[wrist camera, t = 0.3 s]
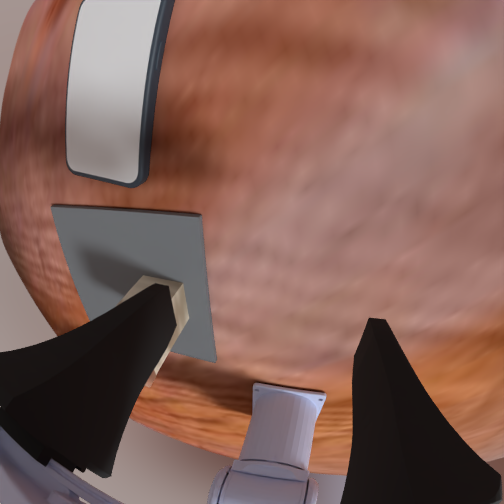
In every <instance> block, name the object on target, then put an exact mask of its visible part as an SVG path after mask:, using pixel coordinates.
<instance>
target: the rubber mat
mask: <svg viewBox="0 0 504 504" xmlns="http://www.w3.org/2000/svg"><path fill="white" fill-rule="evenodd" d="M51 211H52V215H53V218H54V222H55V226H56V229H57V233H58V236H59V240H60V243H61V246H62V249H63V252H64V255H65V258H66V261H67V264H68V267H69V270H70V273H71V276H72V278H73V281H74V284H75V286H76V289H77V291H78V294H79V296H80V299H81V301H82V304H83V306H84V308H85V311H86V313H87V315H88V317H89V320H90V321H92V320H93V319H95V318H97V317H99V316H100V315H102V314H104V313H106V312H108V311H109V310H111V309H113V308H114V307H115V306H116V305H117V304H118V303H119V302H120V301H121V300H122V298H123V297H124V296H125V295H126V294H127V293H128V292H129V290H130V289H131V288H132V287H133V286H134V285H135V284H136V283H137V281H138V280H139V279H140V278H141V277H142V276H143V275H145V276H150V277H155V278H160V279H165V280H170V281H175V282H181V283H183V285H184V291H185V297H186V303H187V309H188V314H189V319H188V321H187V323H186V325H185V326H184V328H183V330H182V331H181V333H180V335H179V336H178V338H177V340H176V342H175V343H174V345H173V347H172V348H171V350H170V351H171V352H175V353H178V354H182V355H186V356H189V357H193V358H197V359H201V360H205V361H209V362H213V363H216V360H217V356H216V349H215V341H214V334H213V325H212V317H211V309H210V300H209V290H208V281H207V271H206V261H205V250H204V238H203V226H202V215H199V214H188V213H176V212H163V211H150V210H136V209H121V208H105V207H87V206H67V205H53V206H51Z"/></svg>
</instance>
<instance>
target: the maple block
mask: <svg viewBox="0 0 504 504" xmlns="http://www.w3.org/2000/svg"><path fill="white" fill-rule="evenodd" d="M154 283H157V284H162V285H167V286H169V289H170V294H171V299H172V304H173V309H174V314H175V319H176V323H177V326H176V329H175V331H174V334H173V336H172V338H171V341H170V343H169V345H168V347H167V349H166V351H165V352H164V354H163V356H162V357H161V359H160V361H159V362H158V364H157V366H156V367H155V369H154V371H153V372H152V374H151V375H150V377H149V379H148V380H147V382H146V384H145V385H144V386H147V387H151V385H152V383H153V381H154V380H155V378H156V374H157V373H158V371H159V369H160V367H161V366H162V364H163V362H164V360H165V359H166V357H167V355H168V354H169V352H170V350H171V348H172V347H173V345H174V343H175V342H176V340H177V338H178V336H179V335H180V333H181V331H182V330H183V328H184V326H185V325H186V323H187V321H188V319H189V314H188V309H187V303H186V297H185V291H184V285H183V283H181V282H175V281H170V280H165V279H160V278H155V277H150V276H145V275H143V276H142V277H141V278H140V279H139V280H138V281H137V283H136V284H135V285H134V286H133V287H132V288H131V289H130V290H129V292H128V293H127V294H126V295H125V296H124V297H123V298H122V300H121V301H120V302H119V303H118V304H117V305H119V304H121V303H122V302H124V301H126V300H127V299H129V298H131V297H132V296H134V295H135V294H137V293H139V292H140V291H142V290H144V289H145V288H147V287H149V286H151V285H152V284H154ZM117 305H116V306H117ZM116 306H115V307H116Z"/></svg>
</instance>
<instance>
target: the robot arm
mask: <svg viewBox="0 0 504 504" xmlns="http://www.w3.org/2000/svg"><path fill="white" fill-rule="evenodd" d="M176 326H177V323H176V319H175V314H174V309H173V304H172V299H171V294H170V289H169V286H167V285H162V284H157V283H154V284H152V285H151V286H149V287H147V288H145V289H144V290H142V291H140V292H139V293H137V294H135V295H134V296H132V297H131V298H129V299H127V300H126V301H124V302H122V303H121V304H119V305H117V306H116V307H114V308H113V309H111V310H109V311H108V312H106V313H104V314H102V315H100V316H99V317H97V318H95V319H93V320H92V321H90V322H88V323H86V324H84V325H82V326H80V327H78V328H76V329H74V330H72V331H70V332H67V333H65V334H63V335H61V336H58V337H55V338H53V339H50V340H47V341H45V342H42V343H39V344H36V345H33V346H29V347H25V348H21V349H17V350H13V351H6V352H0V406H1V407H0V503H1V504H86V503H84V502H81V501H80V500H79V496H80V497H81V498H83V499H84V500H86V501H87V502H89V503H90V504H124V503H122V502H120V501H118V500H116V499H114V498H112V497H111V496H109V495H107V494H105V493H103V492H102V491H100V490H98V489H97V488H95V487H93V486H92V485H90V484H88V483H87V482H85V481H84V480H82V479H81V478H79V477H78V476H76V475H75V474H73V471H74V469H75V468H76V469H78V470H79V471H81V472H84V471H85V470H86V468H87V469H89V470H90V471H92V472H93V473H95V474H97V475H98V476H100V477H102V478H108V477H110V476H111V473H112V469H113V465H114V461H115V457H116V453H117V450H118V447H119V443H120V441H121V438H122V434H123V432H124V429H125V427H126V424H127V421H128V419H129V416H130V414H131V412H132V409H133V407H134V405H135V402H136V400H137V398H138V396H139V394H140V392H141V390H142V389H143V387H144V385H145V384H146V382H147V380H148V379H149V377H150V375H151V374H152V372H153V371H154V369H155V367H156V366H157V364H158V362H159V361H160V359H161V357H162V356H163V354H164V352H165V351H166V349H167V347H168V345H169V343H170V341H171V338H172V336H173V334H174V331H175V329H176ZM325 399H326V394H325V393H321V392H313V391H305V390H298V389H291V388H285V387H278V386H272V385H267V384H261V383H254V385H253V412H252V417H251V421H250V424H249V427H248V431H247V434H246V437H245V440H244V444H243V447H242V450H241V453H240V456H239V460H234V462H233V465H232V466H230V465H227V466H225V467H224V468H222V469H220V470H219V471H218V473H217V474H216V476H215V478H214V480H213V482H212V485H211V488H210V491H209V495H208V501H207V504H316V502H317V496H318V483H317V482H316V481H315V479H314V478H308V475H309V471H307V469H308V464H309V458H310V452H311V446H312V440H313V434H314V427H315V422H316V419H317V417H318V415H319V413H320V411H321V408H322V406H323V404H324V401H325ZM352 403H353V436H352V448H351V455H350V461H349V467H348V472H347V478H346V482H345V487H344V491H343V495H342V499H341V503H340V504H499V503H500V502H501V501H502V482H501V475H500V474H499V473H498V472H496V471H495V470H494V469H493V468H492V467H490V466H489V465H488V464H487V463H486V462H485V461H484V460H482V459H481V458H480V457H479V456H478V455H477V454H476V453H475V452H474V451H473V450H472V449H471V448H470V447H469V446H468V445H467V443H466V442H465V441H464V440H463V439H462V438H461V437H460V436H459V434H458V433H457V432H456V431H455V430H454V428H453V427H452V426H451V425H450V424H449V422H448V421H447V420H446V419H445V417H444V416H443V415H442V413H441V412H440V410H439V409H438V408H437V406H436V405H435V404H434V402H433V401H432V399H431V398H430V396H429V395H428V393H427V392H426V390H425V388H424V387H423V385H422V384H421V382H420V380H419V379H418V377H417V375H416V374H415V372H414V370H413V368H412V367H411V365H410V363H409V361H408V359H407V358H406V356H405V354H404V352H403V350H402V349H401V347H400V345H399V343H398V341H397V339H396V337H395V336H394V334H393V332H392V330H391V328H390V326H389V325H388V323H387V321H386V320H385V319H377V318H369V319H368V322H367V324H366V327H365V330H364V333H363V335H362V338H361V340H360V343H359V345H358V348H357V350H356V353H355V355H354V364H353V376H352Z"/></svg>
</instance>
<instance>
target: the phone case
mask: <svg viewBox="0 0 504 504" xmlns="http://www.w3.org/2000/svg"><path fill="white" fill-rule="evenodd" d="M174 2H175V0H83V1H82V3H81V5H80V7H79V11H78V16H77V20H76V25H75V30H74V36H73V41H72V48H71V55H70V62H69V71H68V81H67V94H66V117H65V145H66V163H67V166H68V168H69V170H70V171H71V172H72V173H73V174H75V175H79V176H83V177H87V178H91V179H95V180H100V181H104V182H108V183H112V184H116V185H120V186H124V187H128V188H135V187H138V186H139V185H141V184H143V183H144V182H145V181H146V180H147V178H148V175H149V165H150V152H151V140H152V130H153V121H154V112H155V104H156V97H157V89H158V83H159V76H160V70H161V64H162V59H163V53H164V48H165V43H166V38H167V33H168V28H169V24H170V19H171V15H172V10H173V6H174Z"/></svg>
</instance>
